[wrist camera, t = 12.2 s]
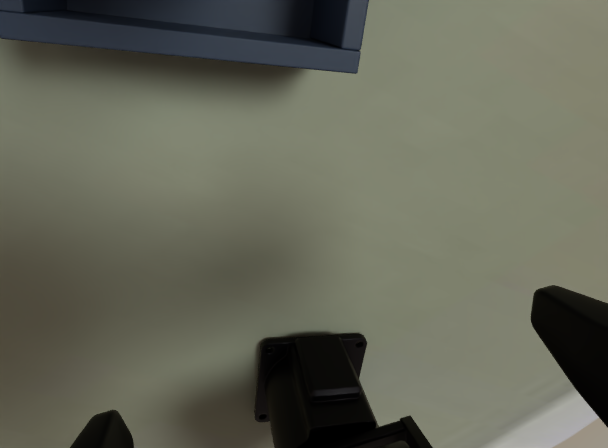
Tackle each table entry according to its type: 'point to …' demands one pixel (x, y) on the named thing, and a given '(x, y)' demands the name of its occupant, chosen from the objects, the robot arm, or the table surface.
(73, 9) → the tub
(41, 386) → the table surface
